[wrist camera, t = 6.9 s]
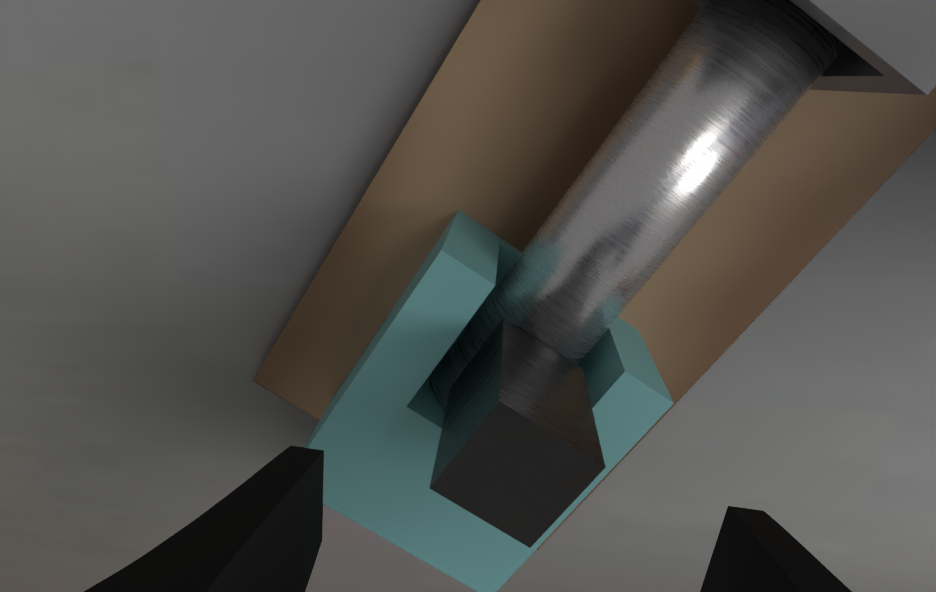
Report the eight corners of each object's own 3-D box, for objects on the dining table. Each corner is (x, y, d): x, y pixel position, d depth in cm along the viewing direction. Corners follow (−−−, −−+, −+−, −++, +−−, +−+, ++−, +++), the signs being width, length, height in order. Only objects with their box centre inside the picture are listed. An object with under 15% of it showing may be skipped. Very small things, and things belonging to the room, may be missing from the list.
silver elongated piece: (859, -13, 14) (1159, -93, 7) (518, 403, 19) (519, 579, 12) (763, -93, 14) (990, -249, 7) (438, 352, 18) (395, 507, 12)
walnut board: (1394, -395, 13) (1464, -432, 12) (536, 530, 23) (537, 549, 22) (992, -843, 11) (1036, -928, 10) (264, 367, 21) (252, 380, 20)
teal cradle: (639, 330, 19) (673, 403, 14) (494, 497, 21) (489, 598, 17) (458, 209, 18) (441, 249, 14) (331, 399, 20) (284, 481, 16)
